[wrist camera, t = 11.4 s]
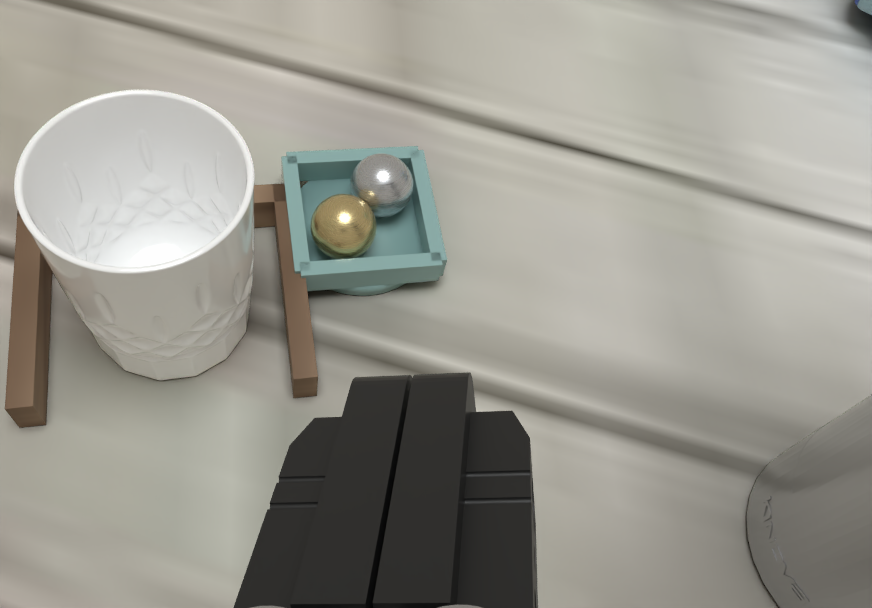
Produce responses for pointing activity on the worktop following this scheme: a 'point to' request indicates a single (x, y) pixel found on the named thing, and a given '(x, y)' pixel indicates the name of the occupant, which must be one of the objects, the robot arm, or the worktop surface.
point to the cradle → (35, 308)
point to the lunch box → (864, 5)
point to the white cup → (146, 226)
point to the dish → (395, 235)
